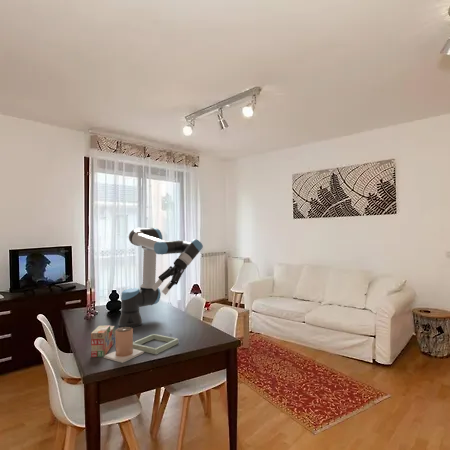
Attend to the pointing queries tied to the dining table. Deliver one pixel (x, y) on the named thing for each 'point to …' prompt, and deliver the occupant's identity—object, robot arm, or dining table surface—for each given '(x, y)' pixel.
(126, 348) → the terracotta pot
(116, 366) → the dining table surface
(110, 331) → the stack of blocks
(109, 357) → the ceramic tile
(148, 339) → the frame
